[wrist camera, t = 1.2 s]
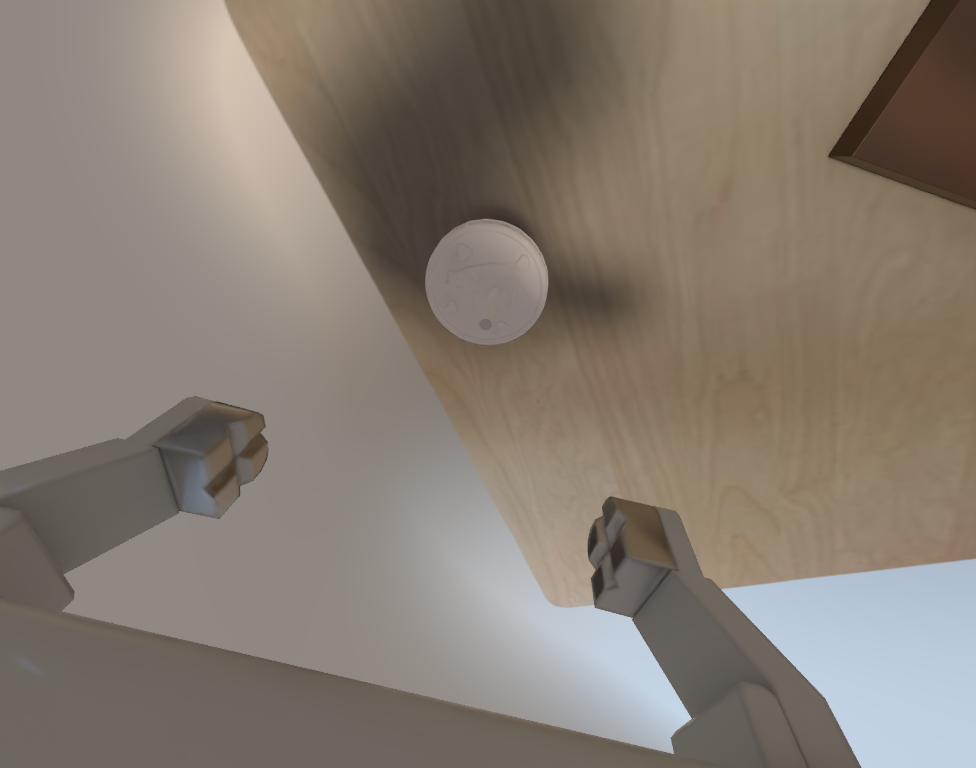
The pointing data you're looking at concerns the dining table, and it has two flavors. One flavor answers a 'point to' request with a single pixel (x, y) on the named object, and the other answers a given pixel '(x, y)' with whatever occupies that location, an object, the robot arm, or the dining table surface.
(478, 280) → the smoothie
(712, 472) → the dining table surface
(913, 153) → the step shelf
